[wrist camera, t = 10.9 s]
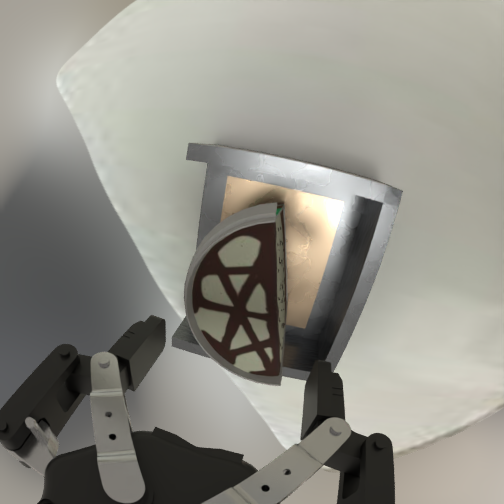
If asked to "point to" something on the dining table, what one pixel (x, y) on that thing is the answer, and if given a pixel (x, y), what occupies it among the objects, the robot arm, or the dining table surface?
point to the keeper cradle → (304, 242)
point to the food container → (242, 293)
